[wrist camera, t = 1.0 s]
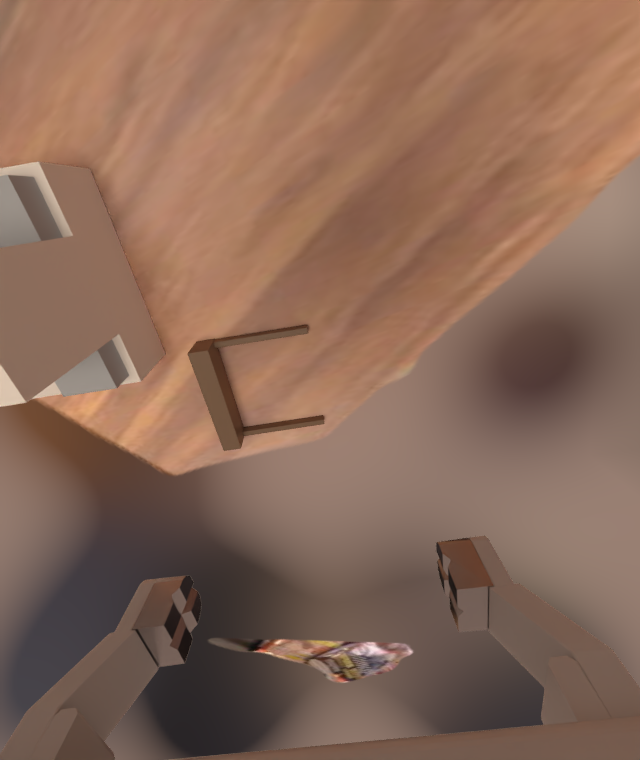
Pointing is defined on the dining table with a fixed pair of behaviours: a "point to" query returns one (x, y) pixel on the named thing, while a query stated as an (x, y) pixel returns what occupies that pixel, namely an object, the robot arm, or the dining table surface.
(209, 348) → the glasses frame
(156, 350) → the pillar on square base
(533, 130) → the dining table surface
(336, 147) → the dining table surface
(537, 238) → the dining table surface
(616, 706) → the robot arm
